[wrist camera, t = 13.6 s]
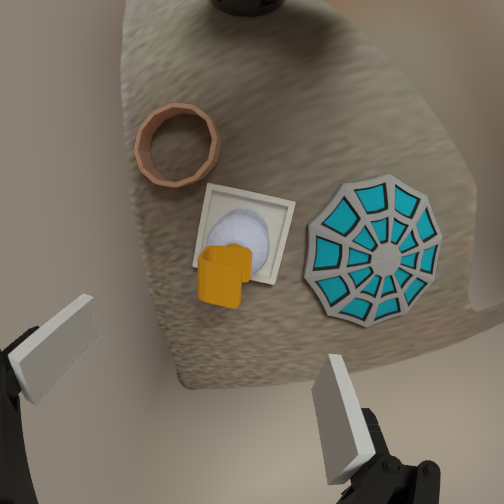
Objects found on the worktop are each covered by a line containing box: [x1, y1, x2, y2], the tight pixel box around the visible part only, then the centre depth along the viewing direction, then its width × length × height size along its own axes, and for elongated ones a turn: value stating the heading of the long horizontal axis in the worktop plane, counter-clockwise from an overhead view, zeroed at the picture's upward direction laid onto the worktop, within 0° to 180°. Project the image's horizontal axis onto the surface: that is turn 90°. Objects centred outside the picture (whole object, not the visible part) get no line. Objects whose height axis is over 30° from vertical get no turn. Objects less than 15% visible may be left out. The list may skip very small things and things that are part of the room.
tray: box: [192, 183, 296, 285], centre depth 48 cm, size 15×15×2 cm
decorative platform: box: [303, 174, 443, 328], centre depth 47 cm, size 31×29×5 cm
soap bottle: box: [198, 208, 270, 309], centre depth 36 cm, size 9×9×25 cm
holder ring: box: [134, 103, 222, 188], centre depth 43 cm, size 14×14×5 cm
